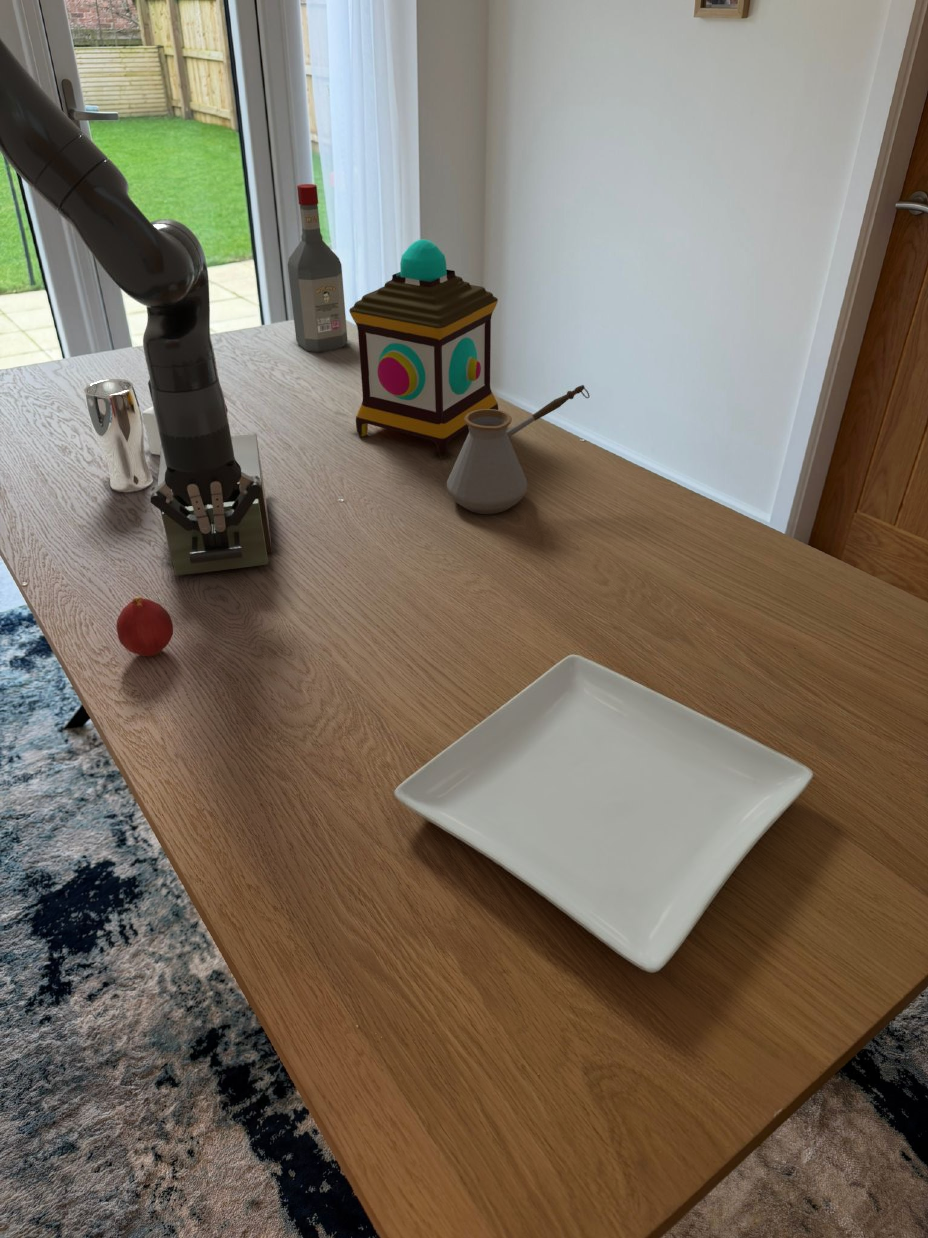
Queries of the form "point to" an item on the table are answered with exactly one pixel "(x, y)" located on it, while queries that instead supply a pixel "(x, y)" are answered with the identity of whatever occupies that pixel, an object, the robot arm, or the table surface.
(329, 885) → the table surface
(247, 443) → the cabinet
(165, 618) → the onion
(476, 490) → the coffee pot
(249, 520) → the drawer
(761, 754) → the square plate
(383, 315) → the decorative lantern
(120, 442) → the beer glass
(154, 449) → the medicine bottle
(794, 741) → the table surface
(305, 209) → the liquor
